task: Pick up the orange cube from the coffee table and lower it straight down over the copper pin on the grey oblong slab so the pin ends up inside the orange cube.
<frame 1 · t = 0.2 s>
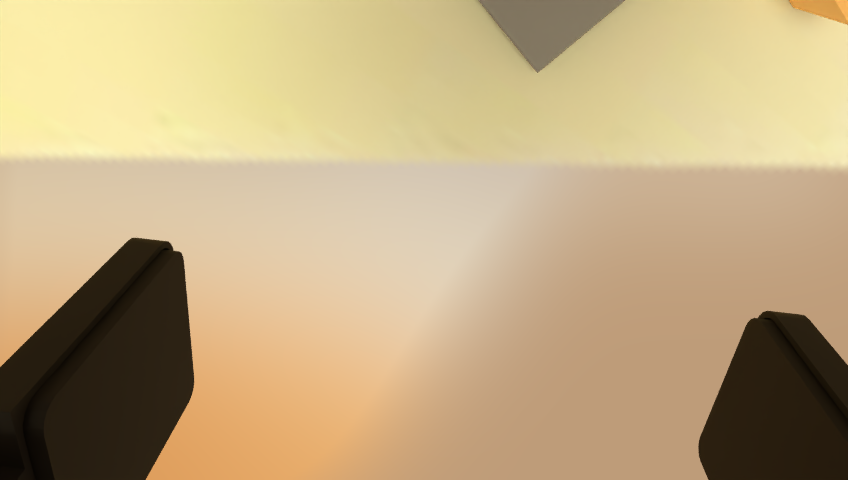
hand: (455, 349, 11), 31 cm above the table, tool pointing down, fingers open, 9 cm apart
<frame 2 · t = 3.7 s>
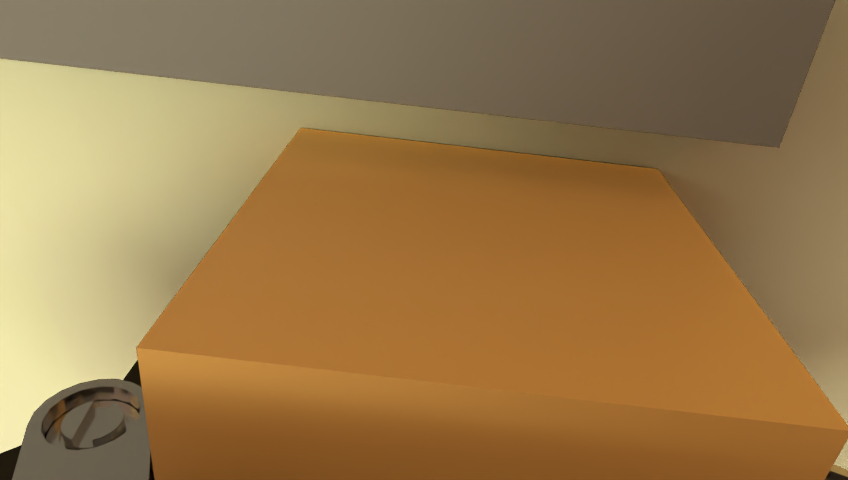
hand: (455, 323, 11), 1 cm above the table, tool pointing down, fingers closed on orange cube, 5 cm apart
orange cube: (456, 298, 12), on the table, touching gripper
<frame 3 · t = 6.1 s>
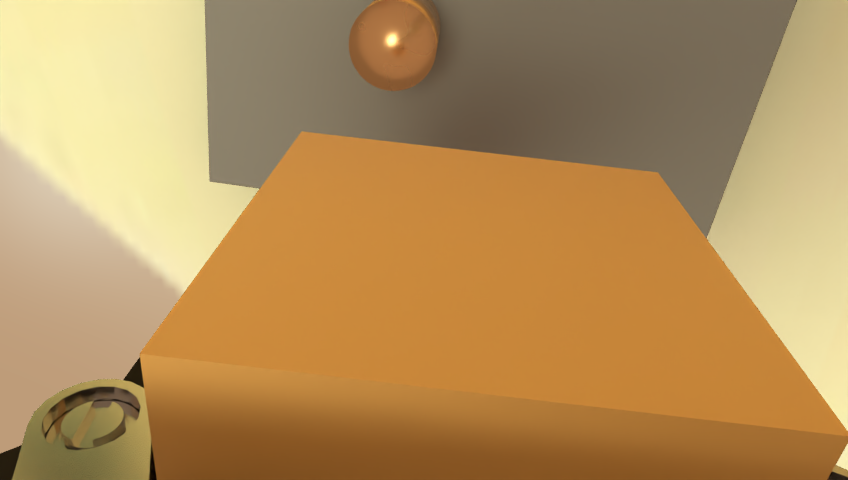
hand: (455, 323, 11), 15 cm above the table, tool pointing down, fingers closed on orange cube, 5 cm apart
pin: (406, 19, 24), resting on grey oblong slab
grey oblong slab: (486, 30, 24), on the table
orange cube: (457, 301, 12), point 15 cm above the table, touching gripper
when the fingers open (3 cm above the table, at t = 8.7 s): orange cube stays where it is, resting on grey oblong slab.
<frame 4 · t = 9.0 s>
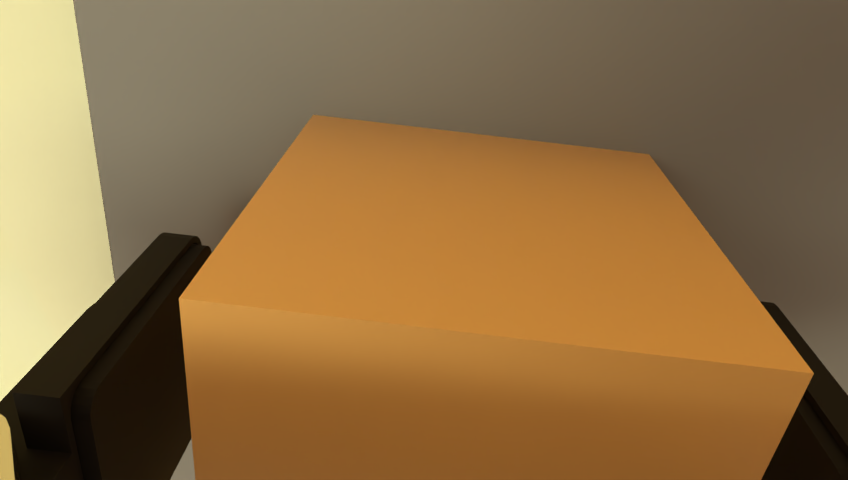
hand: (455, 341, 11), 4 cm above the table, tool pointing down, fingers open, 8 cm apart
grey oblong slab: (592, 258, 14), on the table
orange cube: (459, 278, 13), point 1 cm above the table, touching grey oblong slab
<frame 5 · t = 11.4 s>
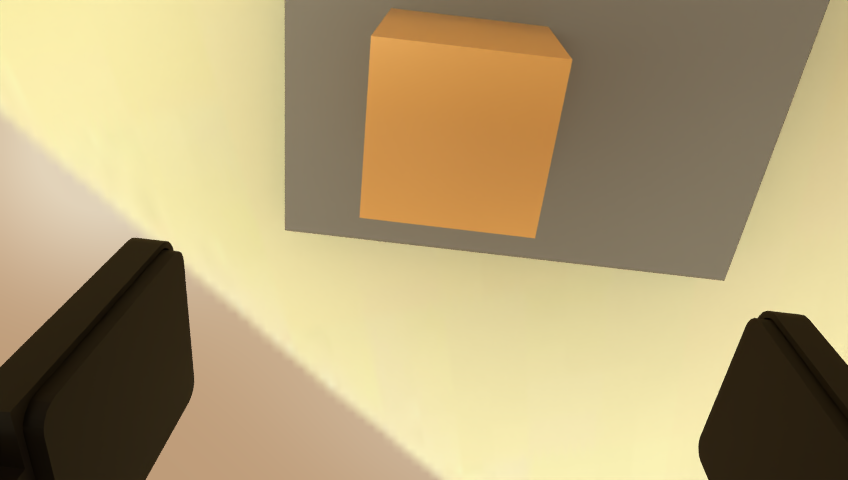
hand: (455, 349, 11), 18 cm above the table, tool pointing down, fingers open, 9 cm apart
grey oblong slab: (528, 94, 27), on the table
orange cube: (459, 95, 25), point 1 cm above the table, touching grey oblong slab
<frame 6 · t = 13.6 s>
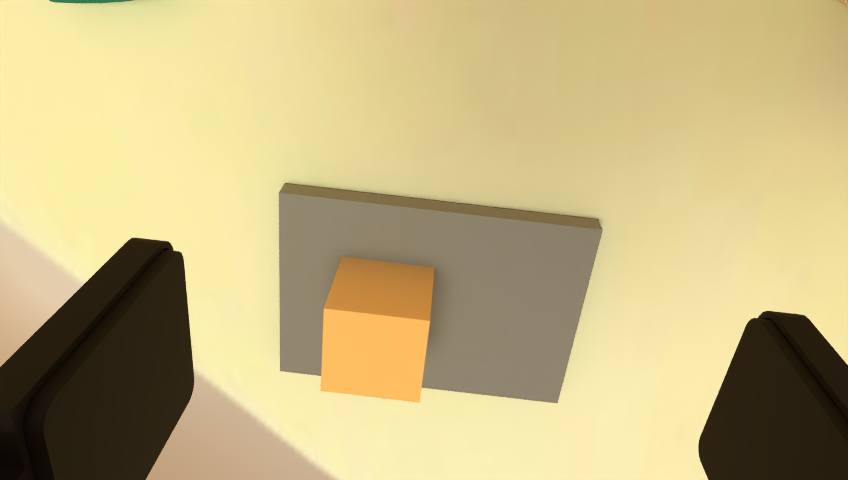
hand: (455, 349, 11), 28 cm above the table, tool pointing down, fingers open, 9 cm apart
grey oblong slab: (429, 293, 44), on the table
orange cube: (384, 300, 42), point 1 cm above the table, touching grey oblong slab
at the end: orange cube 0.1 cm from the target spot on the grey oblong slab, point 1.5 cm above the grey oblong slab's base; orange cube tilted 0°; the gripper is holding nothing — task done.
